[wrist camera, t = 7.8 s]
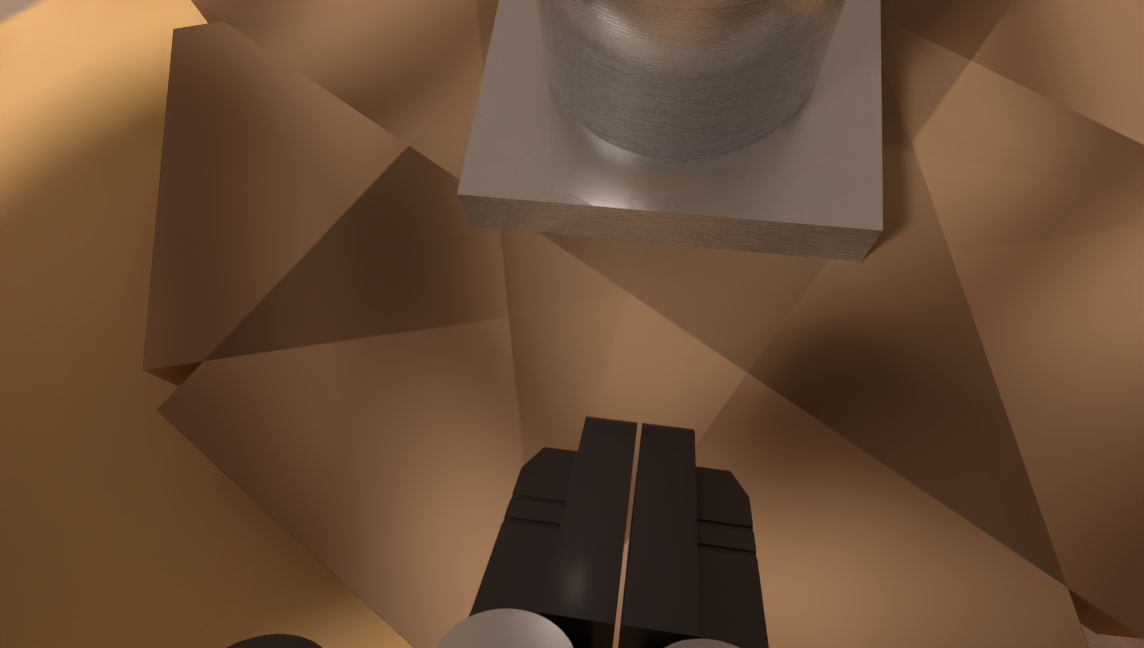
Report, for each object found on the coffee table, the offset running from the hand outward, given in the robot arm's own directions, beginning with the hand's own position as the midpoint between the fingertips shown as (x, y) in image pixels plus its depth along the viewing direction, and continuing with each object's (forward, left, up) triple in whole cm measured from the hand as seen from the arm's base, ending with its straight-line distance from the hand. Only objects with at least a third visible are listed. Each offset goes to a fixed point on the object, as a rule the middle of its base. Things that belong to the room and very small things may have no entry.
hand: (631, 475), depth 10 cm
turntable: (-9, -5, -6) cm, 12 cm away
